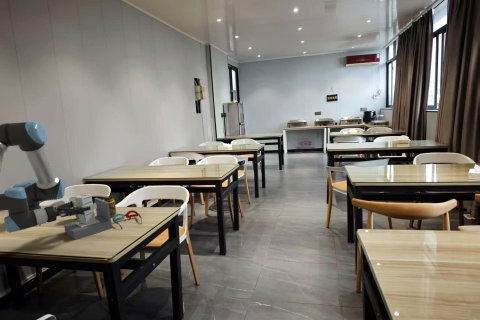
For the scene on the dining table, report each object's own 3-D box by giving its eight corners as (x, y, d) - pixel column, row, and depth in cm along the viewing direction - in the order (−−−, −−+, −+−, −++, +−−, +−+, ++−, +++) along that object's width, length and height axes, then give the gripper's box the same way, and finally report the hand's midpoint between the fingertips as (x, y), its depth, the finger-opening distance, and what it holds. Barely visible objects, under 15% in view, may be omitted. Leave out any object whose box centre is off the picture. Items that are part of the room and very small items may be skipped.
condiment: (118, 216, 181) (115, 196, 179) (103, 220, 176) (100, 200, 174) (115, 213, 187) (113, 194, 185) (100, 217, 182) (97, 197, 180)
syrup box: (96, 220, 162) (92, 194, 160) (86, 224, 157) (81, 197, 155) (88, 219, 165) (84, 193, 162) (78, 223, 160) (74, 196, 157)
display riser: (65, 232, 161) (60, 206, 159) (100, 221, 174) (96, 197, 171) (75, 239, 150) (70, 212, 148) (112, 228, 162) (108, 202, 160)
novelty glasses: (137, 217, 179) (136, 208, 178) (145, 223, 166) (144, 215, 166) (112, 223, 171) (111, 214, 170) (118, 230, 159) (117, 221, 158)
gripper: (39, 217, 156) (83, 206, 171) (54, 228, 139) (101, 215, 154) (37, 203, 155) (81, 193, 170) (51, 212, 138) (99, 200, 152)
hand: (91, 203), depth 162 cm, fingers open, 13 cm apart
